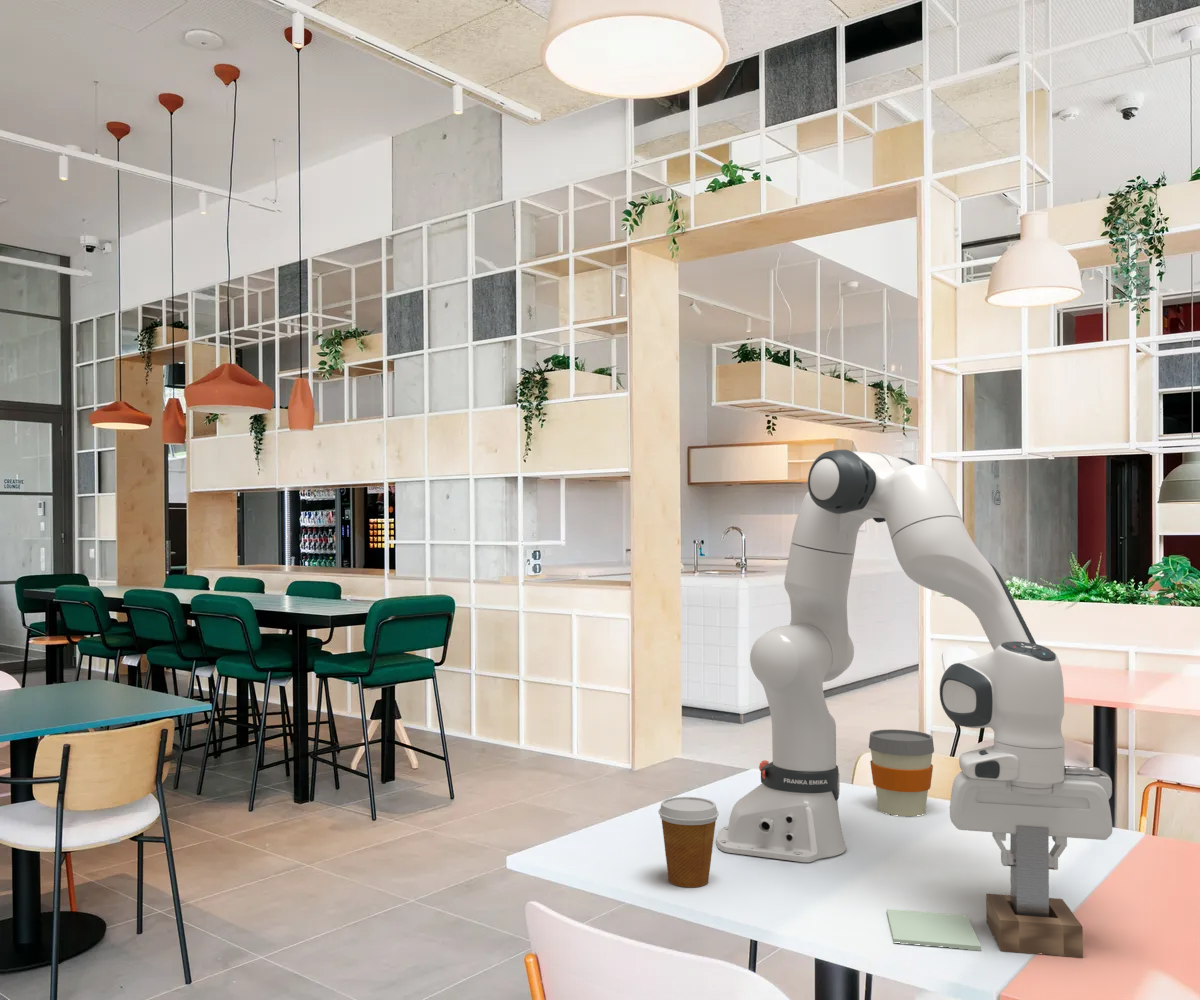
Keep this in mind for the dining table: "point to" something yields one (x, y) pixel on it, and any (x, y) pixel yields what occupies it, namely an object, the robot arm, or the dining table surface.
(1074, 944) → the socket block
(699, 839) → the disposable coffee cup
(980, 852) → the dining table surface
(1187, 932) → the dining table surface
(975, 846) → the dining table surface
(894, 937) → the mat
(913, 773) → the reusable coffee cup
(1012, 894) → the peg
